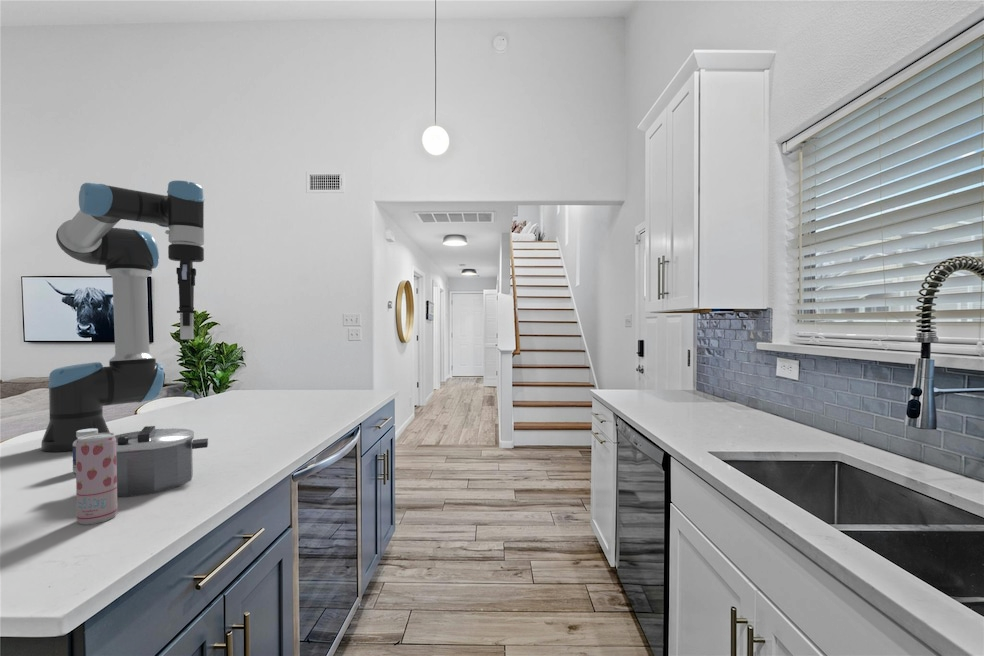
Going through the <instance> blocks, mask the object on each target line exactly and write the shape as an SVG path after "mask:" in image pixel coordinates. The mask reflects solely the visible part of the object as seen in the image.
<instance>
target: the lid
mask: <svg viewBox="0 0 984 656" xmlns="http://www.w3.org/2000/svg"><path fill="white" fill-rule="evenodd" d="M115 438H116V453H131V452H142V451H150V450H156V449H162V448H167V447H172V446H176V445H179V444H183V443H186V442H188V441H190V440H192V441H193V440H194V438H195V432H194V430H191V429H187V428H186V429H185V428H156V425H151V426H150V425H149V426H143V428H142V429H141V430H137V431H132V432H131V431H130V432H125V433H121V434H115Z"/></svg>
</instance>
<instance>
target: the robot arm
mask: <svg viewBox="0 0 984 656" xmlns="http://www.w3.org/2000/svg"><path fill="white" fill-rule="evenodd" d="M166 193H167V195H164V194H158V193H152V192H146V191H142V190H141V191H140V190H134V189H131V188H130V189H129V188H123V187H118V186H113V185H107V184H106V183H105V184H104V183H95V182H94V183H92V182H84V183H82V184H81V186H80V188H79V192H78V206H79V210H78V211H77V213H76V214H75V215H74V216H73V218H72V219H69V220H66V221H64V222H63V223H62V224H61V225H60V226H59V227H58V229H57V230H56V233H55V234H56V235H55V239H56V242H57V245H58V246H59V248H60V250H62V251H63V252H64V253H65V254H66V255H68V256H69V257H71V258H73V259H74V260H77V261H79V262H82V263H86V264H91V265H97V266H99V265H100V266H104V267H105V273H106V274H108V275H109V276H110V277H111V279H112V299H113V301H112V302H113V303H112V304H113V305H112V306H113V324H114V325H113V329H114V356H112V357H111V358H110V359H109V361H108V362H109V363H108V364H109V365H108V366H104V365H103V364H102V362H98V361H96V362H88V363H87V362H85V363H77V364H73V365H72V364H71V365H67V366H62V367H58V368H55V369H52V370H51V372H50V373H49V377H48V385H47V388H48V395H49V397H48V401H49V404H48V405H49V406H48V407H49V408H48V409H49V422H48V424H47V428H46V429H45V431H44V432H45V433H44V435H43V437H42V440H41V451H42V452H49V453H51V452H52V453H54V452H55V453H56V452H58V453H59V452H73V442H74V441H75V440H77V437H76V431H79V430H83V429H98V433H111V432H110V429H109V427H108V425H107V423H106V421H105V419H104V415H103V410H104V409H103V408H104V406H106V407H107V406H116V405H123V404H133V403H143V402H147V401H154V400H155V399H156V398H158V397H159V395H160V393H161V392H162V390H163V386H164V379H165V371H164V367H163V365H162V364H161V363H158V362H156V361H157V360H156V359H157V358H156V357H155V356H154V355H153V354H151V352H150V335H149V333H150V332H149V311H148V310H149V308H148V288H147V287H148V286H147V278H148V277H149V276H151V275H152V274H153V270H154V269H156V268H157V267H158V265H159V259H160V257H159V256H160V255H159V254H160V253H159V248H158V244H157V242H156V239H155V238H154V237H153V235H152V234H151V233H149V232H146V231H141V230H137V229H134V228H132V229H129V228H128V229H127V228H120V227H115V226H116V225H117V224H118V222H120V221H121V220H125V221H126V220H127V221H133V222H138V223H139V222H140V223H148V224H153V225H154V224H155V225H157V226H159V227H162V228H168V229H166V230H165V232H164V233H165V234H166V235H168V242H169V243H170V244H169V245H168V247H167V249H168V254H167V255H168V257H167V258H168V259H169V260H170V261H173V262H174V261H175V262H179V267H176V270H175V271H176V275H177V285H178V298H179V299H178V302H179V307H178V309H179V310H176V314H179V327H180V328H179V331H180V332H179V335H180V336H179V339H180V340H194V314H197V310H195V307H194V304H195V303H194V300H195V299H194V298H195V297H194V296H195V294H194V293H195V292H194V291H195V290H194V289H195V286H196V276H197V269H196V268H193V267H194V265H193V263H202V262H203V261H204V260H205V255H204V254H205V253H204V252H205V250H204V249H205V248H204V247H203V246H204V244H205V229H204V228H205V227H204V221H205V220H204V213H205V211H204V206H205V205H204V202H205V199H204V189H203V187H202V186H201V184H199V183H195V182H192V181H187V180H171V181H169V182H168V184H167V190H166Z"/></svg>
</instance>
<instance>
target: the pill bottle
mask: <svg viewBox="0 0 984 656" xmlns="http://www.w3.org/2000/svg"><path fill="white" fill-rule="evenodd" d="M95 433H98V429H83V430H79V431H76V437H77V438H78V437H80V436H84V435H89V434H95ZM76 443H77V440H75V441H74V442H73V450H72V473H74V474H76Z"/></svg>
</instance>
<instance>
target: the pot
mask: <svg viewBox="0 0 984 656" xmlns="http://www.w3.org/2000/svg"><path fill="white" fill-rule="evenodd" d="M208 446H209V438H200V439H192V440H190V441H188V442H186V443H183V444H179V445H176V446H172V447H167V448H162V449H156V450H150V451H142V452H131V453H116V461H117V498H129V497H130V498H131V497H136V496H144V495H151V494H152V495H153V494H157V493H160V492H163V491H164V492H165V491H167V490H171V489H174V488H175V489H176V488H178V487H180V486H183V485H185V484H186V483H188V482H190V481H192V478H193V474H194V473H193V472H194V471H193V467H194V466H193V450H194V449H204V448H208Z"/></svg>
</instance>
